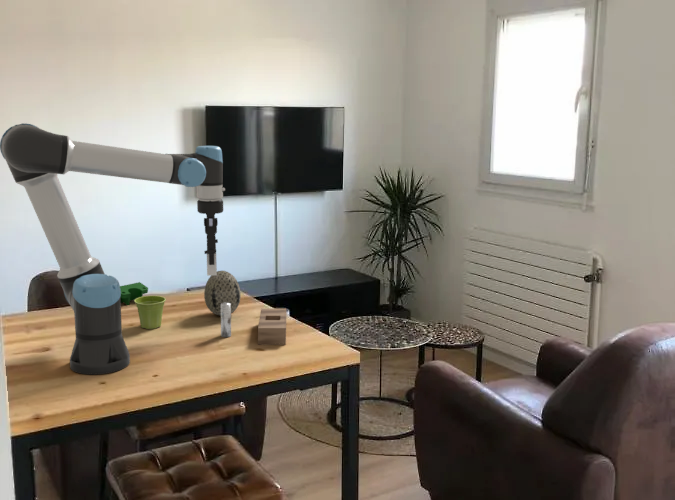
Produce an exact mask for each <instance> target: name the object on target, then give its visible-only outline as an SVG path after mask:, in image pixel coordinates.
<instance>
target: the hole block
mask: <svg viewBox="0 0 675 500" xmlns="http://www.w3.org/2000/svg"><path fill="white" fill-rule="evenodd" d="M286 340H287V308H266V307H265V308H263V307H262V308H261V309H260V314H259V320H258V328H257V345H264V346H265V345H275V346H276V345H286V342H287V341H286Z"/></svg>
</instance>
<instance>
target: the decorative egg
mask: <svg viewBox="0 0 675 500" xmlns="http://www.w3.org/2000/svg"><path fill="white" fill-rule="evenodd" d="M203 293H204V295H203V296H204V298H203V299H204V302H205V305H206V308H207V309H208V311H210V312H212V314H214V315H216V316H218V317H219V316H220V317H221V303H224V302H228V303H231V314H233V313H234V312H235V311H236V310H237V308H238V307H239V304H240V302H241V288H240V285H239V282H238V280H237V279H236V277H235V276H234V275H233V274H232V273H230V272H229V271H226V270H217V275H210V276H209V277H208V279H207V281H206V282H205V286H204V291H203Z"/></svg>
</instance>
